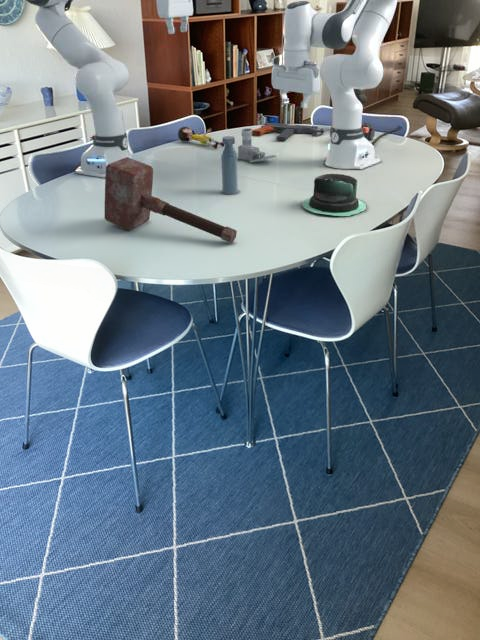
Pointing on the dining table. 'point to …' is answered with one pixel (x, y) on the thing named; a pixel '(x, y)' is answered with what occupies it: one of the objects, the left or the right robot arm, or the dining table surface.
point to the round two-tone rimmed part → (334, 196)
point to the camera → (250, 149)
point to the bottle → (229, 170)
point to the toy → (369, 131)
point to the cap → (228, 140)
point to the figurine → (197, 137)
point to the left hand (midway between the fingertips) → (177, 32)
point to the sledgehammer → (146, 200)
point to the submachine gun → (286, 130)
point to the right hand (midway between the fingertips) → (294, 106)
